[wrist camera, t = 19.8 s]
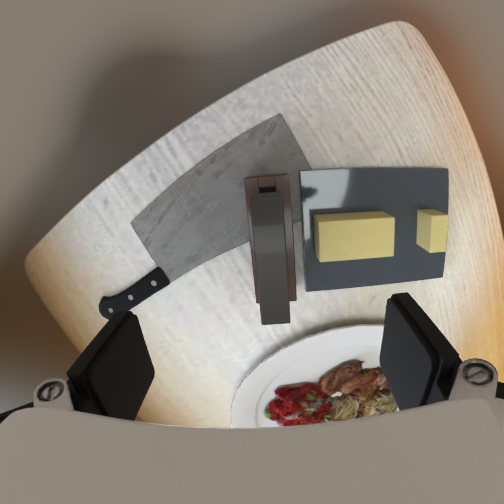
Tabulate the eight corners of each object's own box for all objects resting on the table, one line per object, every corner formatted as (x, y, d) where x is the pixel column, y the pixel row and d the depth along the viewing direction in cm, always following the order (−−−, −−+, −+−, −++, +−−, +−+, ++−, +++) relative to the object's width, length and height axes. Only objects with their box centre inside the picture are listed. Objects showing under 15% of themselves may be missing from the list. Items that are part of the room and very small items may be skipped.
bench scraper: (263, 281, 31) (261, 325, 23) (255, 186, 28) (249, 198, 20) (285, 279, 31) (290, 323, 23) (278, 184, 28) (282, 195, 20)
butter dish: (305, 288, 31) (305, 292, 30) (298, 170, 28) (299, 170, 27) (439, 275, 30) (442, 277, 29) (444, 168, 26) (448, 168, 25)
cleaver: (67, 259, 32) (112, 325, 34) (64, 260, 31) (110, 327, 34) (280, 113, 26) (331, 204, 28) (280, 112, 26) (332, 204, 28)
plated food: (427, 436, 38) (433, 449, 35) (260, 474, 42) (259, 488, 39) (447, 288, 30) (461, 300, 27) (200, 345, 34) (194, 362, 31)
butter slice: (415, 243, 28) (429, 253, 25) (417, 209, 27) (432, 215, 24) (431, 242, 28) (446, 251, 25) (433, 208, 27) (448, 214, 24)
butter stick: (314, 251, 29) (319, 262, 26) (312, 214, 28) (318, 221, 25) (382, 246, 28) (393, 256, 25) (382, 210, 27) (395, 217, 24)
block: (257, 290, 31) (256, 303, 29) (246, 176, 28) (243, 178, 25) (294, 287, 31) (296, 300, 28) (286, 173, 28) (288, 174, 25)
